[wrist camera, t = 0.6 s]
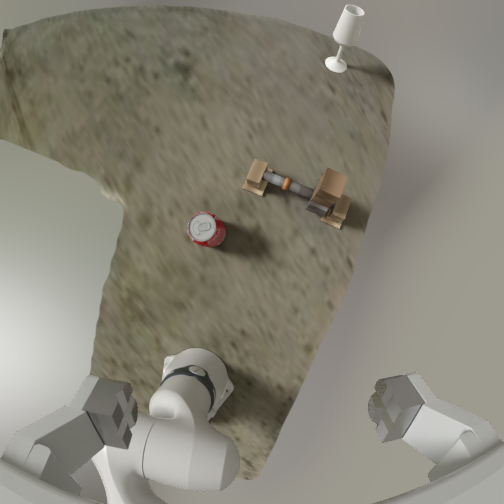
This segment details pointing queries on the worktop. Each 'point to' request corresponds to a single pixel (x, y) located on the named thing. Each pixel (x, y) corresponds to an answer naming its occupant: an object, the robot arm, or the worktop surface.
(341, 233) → the worktop surface
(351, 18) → the champagne flute
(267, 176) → the stand
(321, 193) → the slider
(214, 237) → the soda can
